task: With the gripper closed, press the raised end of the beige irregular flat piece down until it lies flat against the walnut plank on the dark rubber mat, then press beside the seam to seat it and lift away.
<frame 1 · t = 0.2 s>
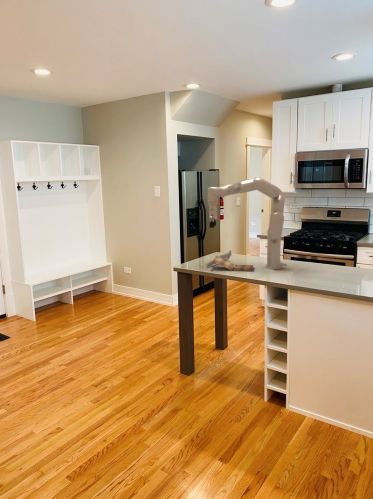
hand: (212, 226, 282), 30 cm above the kitchen island, tool pointing down, fingers open, 9 cm apart
beige irregular flat piece: (223, 262, 277), point 5 cm above the kitchen island, hinge at 25.0°
walnut plank: (243, 269, 275), resting on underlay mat
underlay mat: (233, 269, 277), on the kitchen island
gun: (219, 264, 295), on the kitchen island
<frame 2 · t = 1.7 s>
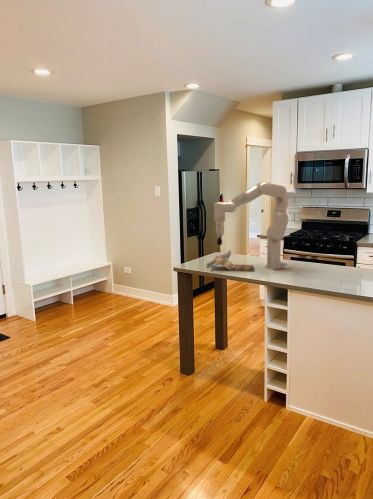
hand: (219, 244, 275), 18 cm above the kitchen island, tool pointing down, fingers closed
nothing on the kitchen island moved.
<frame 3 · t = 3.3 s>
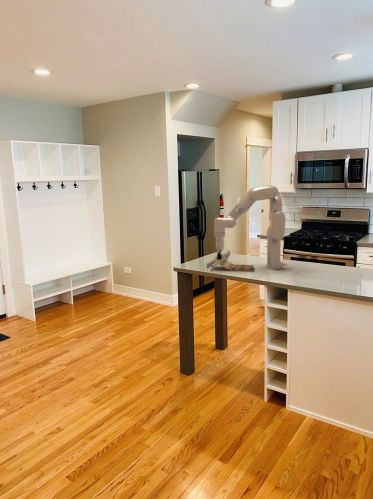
hand: (219, 259, 277), 7 cm above the kitchen island, tool pointing down, fingers closed
beige irregular flat piece: (223, 263, 277), point 5 cm above the kitchen island, hinge at 22.6°, touching gripper
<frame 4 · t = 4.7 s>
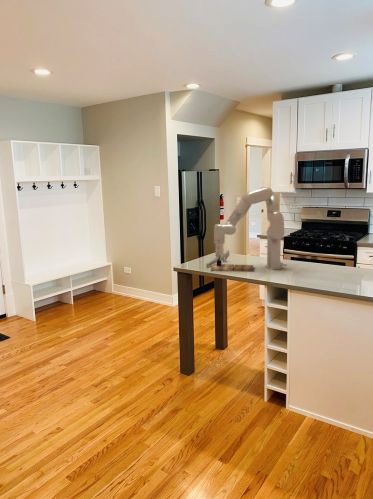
hand: (218, 265, 278), 3 cm above the kitchen island, tool pointing down, fingers closed
beige irregular flat piece: (222, 267, 278), point 2 cm above the kitchen island, hinge at 1.1°, touching gripper
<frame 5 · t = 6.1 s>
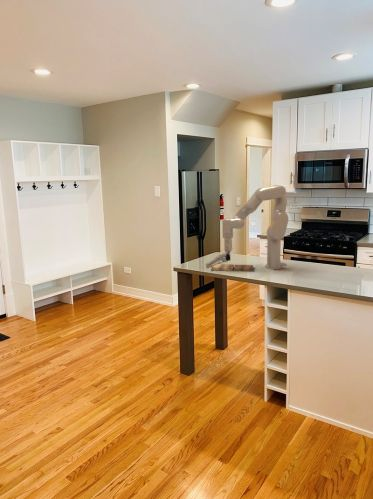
hand: (228, 260, 276), 7 cm above the kitchen island, tool pointing down, fingers closed
beige irregular flat piece: (222, 267, 278), point 2 cm above the kitchen island, hinge at 0.8°
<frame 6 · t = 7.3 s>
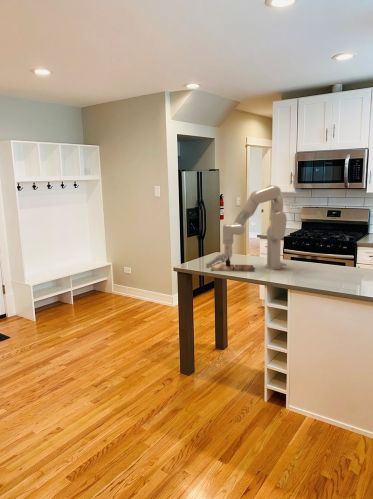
hand: (227, 266, 277), 3 cm above the kitchen island, tool pointing down, fingers closed
beige irregular flat piece: (222, 267, 278), point 2 cm above the kitchen island, hinge at 0.1°, touching gripper
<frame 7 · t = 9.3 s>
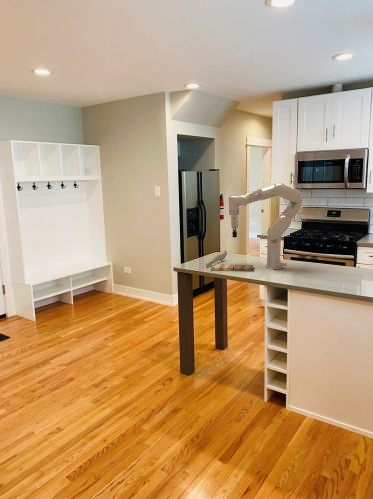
hand: (234, 237, 282), 22 cm above the kitchen island, tool pointing down, fingers closed
beige irregular flat piece: (222, 267, 278), point 2 cm above the kitchen island, hinge at 0.1°
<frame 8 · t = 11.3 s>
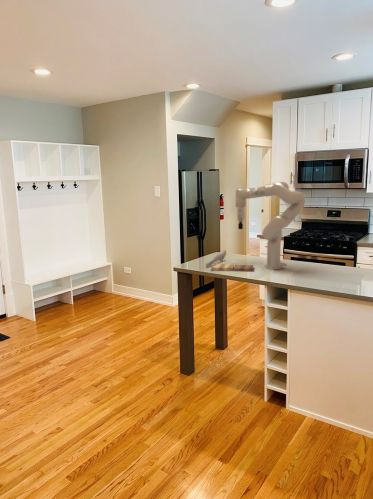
hand: (240, 228, 291), 27 cm above the kitchen island, tool pointing down, fingers closed
at the end: beige irregular flat piece at +0° (first picture: +25°); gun moved 2.6 cm from its start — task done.
